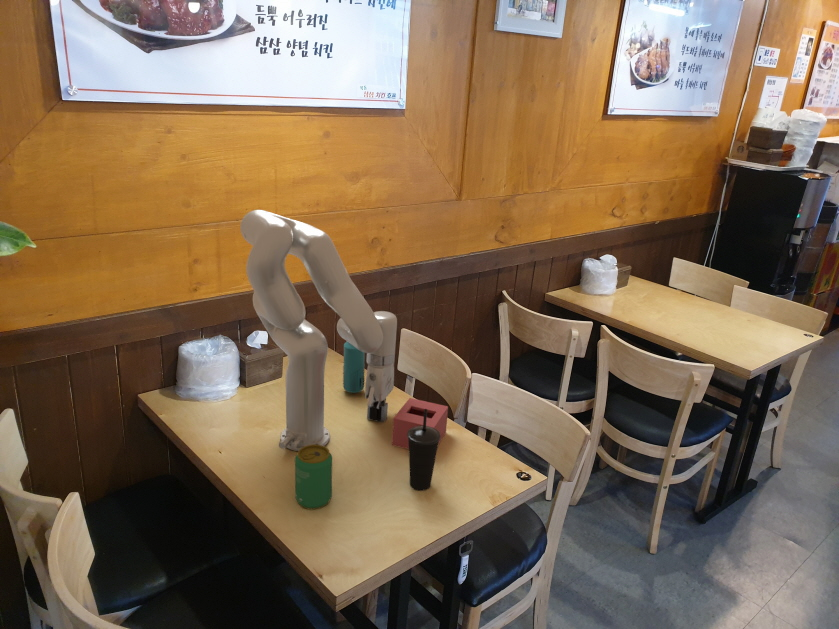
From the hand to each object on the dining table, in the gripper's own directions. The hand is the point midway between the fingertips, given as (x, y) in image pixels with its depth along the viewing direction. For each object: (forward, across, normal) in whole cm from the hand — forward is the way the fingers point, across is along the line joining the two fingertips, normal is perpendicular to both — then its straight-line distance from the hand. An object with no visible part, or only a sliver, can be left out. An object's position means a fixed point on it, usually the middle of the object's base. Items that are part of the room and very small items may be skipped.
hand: (376, 417), depth 174 cm
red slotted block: (+1, -4, -14) cm, 15 cm away
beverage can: (+1, -38, -1) cm, 39 cm away
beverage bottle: (+1, +12, +13) cm, 17 cm away
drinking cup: (+1, -24, -21) cm, 32 cm away
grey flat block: (+1, 0, 0) cm, 1 cm away
